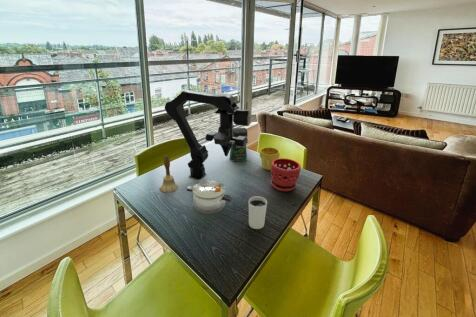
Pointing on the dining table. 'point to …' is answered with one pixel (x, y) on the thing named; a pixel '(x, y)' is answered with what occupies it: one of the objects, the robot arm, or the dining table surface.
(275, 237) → the dining table surface
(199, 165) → the robot arm
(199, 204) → the cooker pot
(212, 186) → the cooker lid
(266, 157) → the plant pot
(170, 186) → the hand bell
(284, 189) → the plant pot
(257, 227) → the white cup
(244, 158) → the coffee jar
